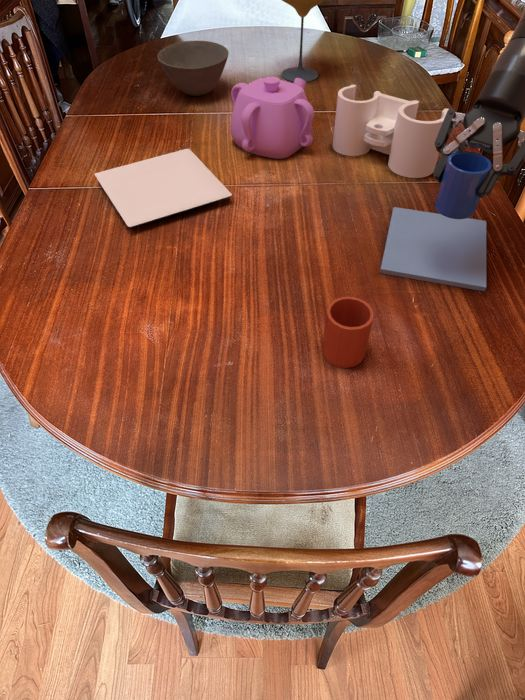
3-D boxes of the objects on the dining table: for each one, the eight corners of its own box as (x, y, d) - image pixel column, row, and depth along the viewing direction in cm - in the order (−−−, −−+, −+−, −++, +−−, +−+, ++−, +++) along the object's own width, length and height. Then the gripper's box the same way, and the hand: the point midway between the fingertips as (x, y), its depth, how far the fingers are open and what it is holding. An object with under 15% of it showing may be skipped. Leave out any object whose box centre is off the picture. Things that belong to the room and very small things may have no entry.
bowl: (174, 76, 148) (169, 38, 141) (237, 81, 146) (235, 42, 138) (153, 104, 136) (146, 64, 129) (220, 109, 134) (218, 69, 126)
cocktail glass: (282, 59, 156) (284, -41, 137) (338, 68, 151) (349, -35, 132) (259, 82, 145) (258, -24, 126) (318, 92, 140) (327, -16, 122)
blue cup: (475, 199, 84) (491, 154, 78) (474, 222, 80) (491, 176, 74) (435, 194, 85) (448, 148, 79) (433, 215, 81) (446, 169, 75)
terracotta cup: (367, 340, 80) (376, 301, 74) (361, 372, 76) (370, 333, 69) (326, 332, 81) (331, 293, 75) (318, 362, 77) (322, 324, 71)
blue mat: (484, 225, 100) (486, 220, 99) (484, 291, 87) (486, 287, 86) (392, 211, 103) (393, 206, 102) (379, 273, 91) (380, 268, 90)
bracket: (324, 150, 119) (328, 97, 110) (344, 134, 125) (350, 82, 115) (422, 183, 110) (436, 128, 101) (440, 164, 115) (455, 110, 106)
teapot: (233, 163, 116) (230, 99, 105) (229, 121, 129) (225, 60, 118) (316, 159, 117) (321, 95, 106) (303, 118, 130) (306, 57, 119)
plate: (233, 203, 105) (232, 194, 104) (130, 235, 98) (128, 226, 97) (189, 155, 118) (188, 147, 117) (96, 181, 111) (93, 172, 110)
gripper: (466, 57, 75) (411, 165, 78) (566, 82, 69) (503, 197, 72) (469, 82, 81) (419, 181, 84) (561, 107, 76) (503, 211, 79)
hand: (458, 188), depth 78 cm, fingers closed on blue cup, 6 cm apart
